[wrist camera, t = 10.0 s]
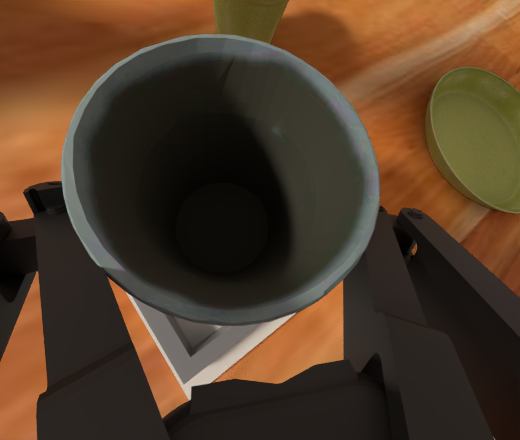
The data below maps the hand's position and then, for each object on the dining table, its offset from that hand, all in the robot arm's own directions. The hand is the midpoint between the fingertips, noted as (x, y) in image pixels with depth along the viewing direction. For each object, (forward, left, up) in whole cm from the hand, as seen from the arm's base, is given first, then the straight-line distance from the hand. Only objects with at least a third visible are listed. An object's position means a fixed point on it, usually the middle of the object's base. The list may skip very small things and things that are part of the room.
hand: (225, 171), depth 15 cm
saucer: (+11, +34, -7) cm, 37 cm away
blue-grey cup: (+3, -2, -4) cm, 5 cm away
